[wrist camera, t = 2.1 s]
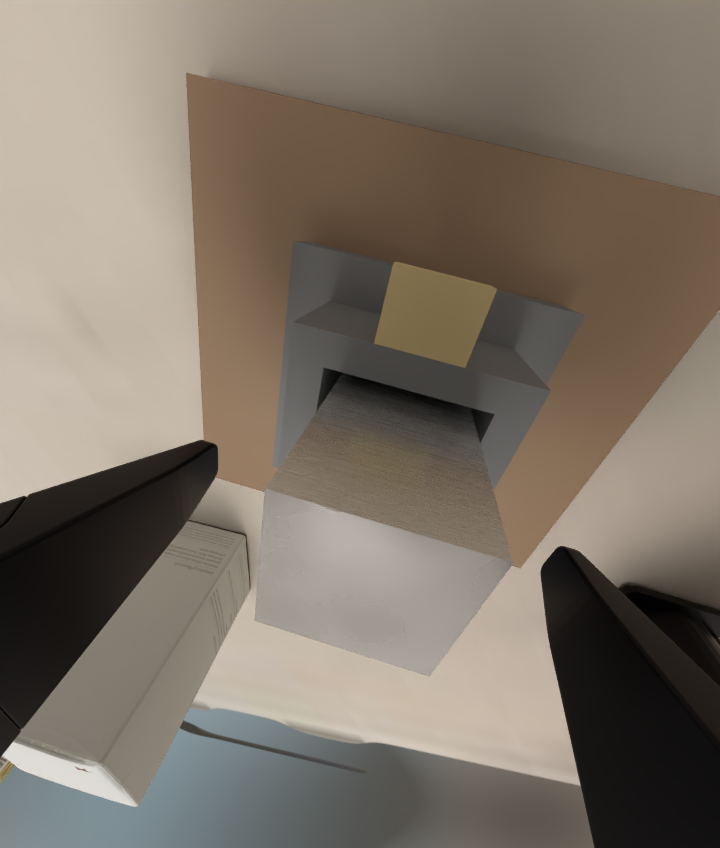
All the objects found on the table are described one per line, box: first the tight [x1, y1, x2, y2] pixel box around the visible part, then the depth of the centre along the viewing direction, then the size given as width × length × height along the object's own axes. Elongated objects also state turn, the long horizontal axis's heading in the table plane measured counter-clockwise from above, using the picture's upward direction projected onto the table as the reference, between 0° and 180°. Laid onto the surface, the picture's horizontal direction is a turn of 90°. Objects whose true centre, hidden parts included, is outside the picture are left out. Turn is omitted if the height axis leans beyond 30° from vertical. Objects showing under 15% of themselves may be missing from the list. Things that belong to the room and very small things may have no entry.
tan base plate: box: [186, 73, 720, 568], centre depth 13 cm, size 20×18×7 cm
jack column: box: [254, 373, 514, 676], centre depth 10 cm, size 4×4×10 cm
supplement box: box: [2, 521, 250, 807], centre depth 21 cm, size 7×7×13 cm
